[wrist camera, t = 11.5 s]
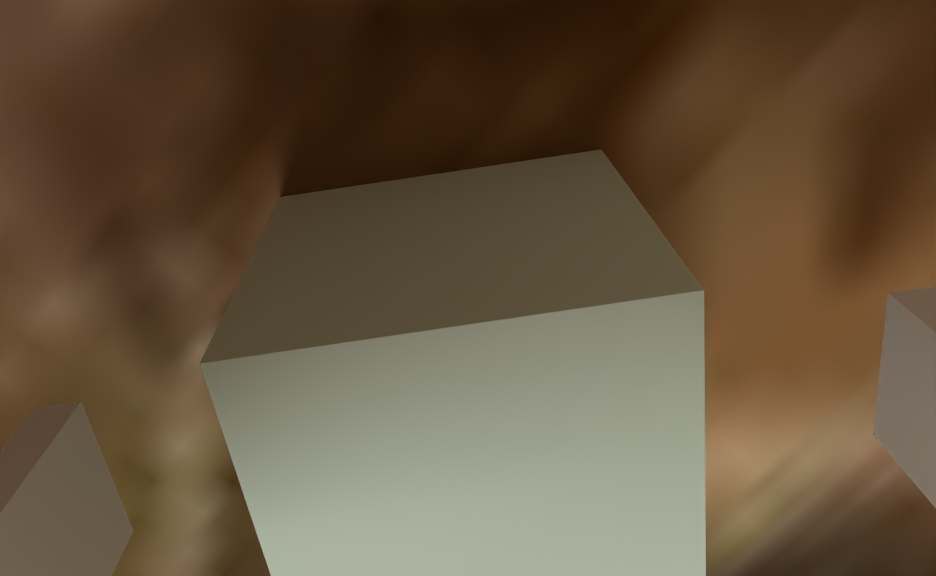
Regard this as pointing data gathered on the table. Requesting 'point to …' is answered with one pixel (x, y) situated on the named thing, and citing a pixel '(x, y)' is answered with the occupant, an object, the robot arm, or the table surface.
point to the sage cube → (468, 379)
